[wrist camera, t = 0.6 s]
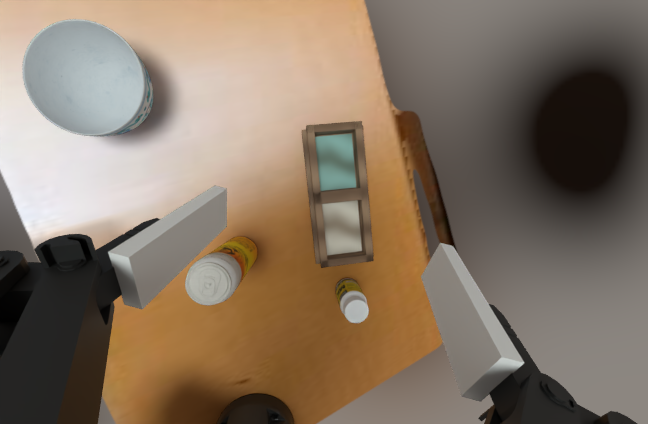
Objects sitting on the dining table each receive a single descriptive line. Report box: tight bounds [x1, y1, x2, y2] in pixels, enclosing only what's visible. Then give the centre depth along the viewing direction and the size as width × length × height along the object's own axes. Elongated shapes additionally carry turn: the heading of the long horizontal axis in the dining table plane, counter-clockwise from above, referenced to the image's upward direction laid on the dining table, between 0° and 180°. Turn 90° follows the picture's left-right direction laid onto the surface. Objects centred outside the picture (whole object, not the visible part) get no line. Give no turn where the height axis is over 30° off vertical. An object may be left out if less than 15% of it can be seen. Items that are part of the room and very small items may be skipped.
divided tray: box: [302, 121, 373, 268], centre depth 41 cm, size 24×11×4 cm, turn 6°
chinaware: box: [23, 19, 153, 136], centre depth 35 cm, size 15×15×8 cm
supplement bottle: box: [336, 278, 369, 323], centre depth 41 cm, size 5×5×8 cm
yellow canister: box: [185, 237, 257, 305], centre depth 35 cm, size 6×6×15 cm
